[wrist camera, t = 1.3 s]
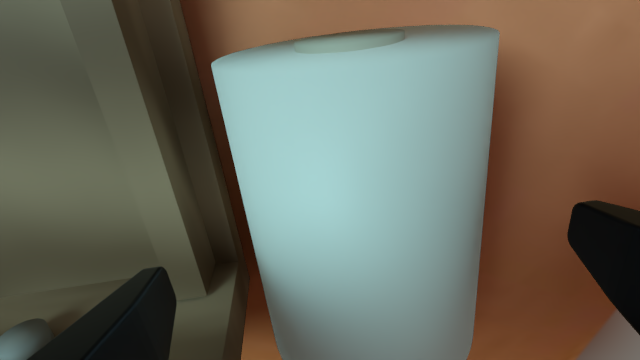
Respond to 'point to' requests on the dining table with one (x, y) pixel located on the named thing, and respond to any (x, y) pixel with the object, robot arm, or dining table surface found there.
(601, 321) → the dining table surface
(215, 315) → the cradle
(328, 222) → the cylinder
